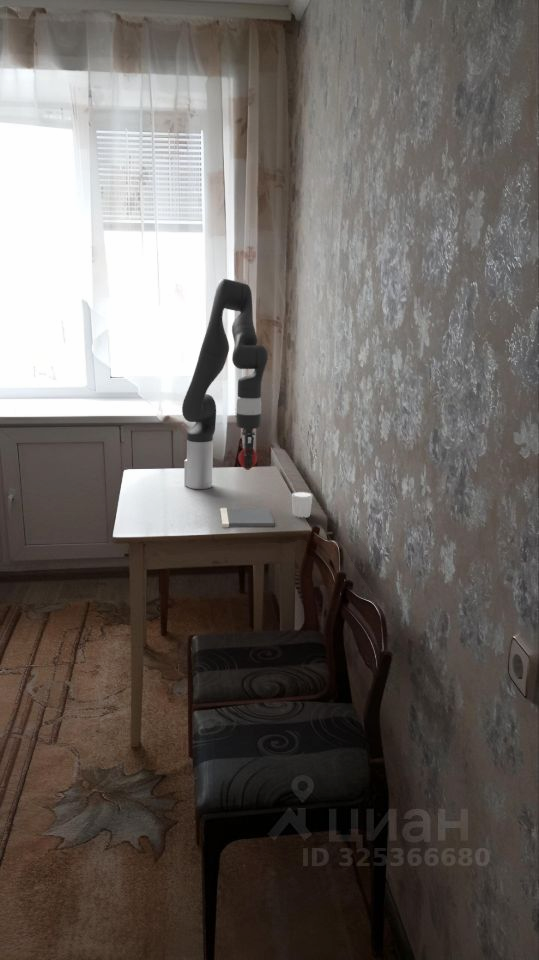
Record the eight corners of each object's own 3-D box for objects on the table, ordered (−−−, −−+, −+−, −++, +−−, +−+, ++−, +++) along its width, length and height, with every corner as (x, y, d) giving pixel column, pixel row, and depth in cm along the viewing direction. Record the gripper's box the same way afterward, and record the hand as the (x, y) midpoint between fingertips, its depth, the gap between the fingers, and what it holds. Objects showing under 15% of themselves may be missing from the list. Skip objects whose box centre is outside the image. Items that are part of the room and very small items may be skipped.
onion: (254, 473, 229) (254, 447, 227) (236, 471, 230) (236, 446, 228) (258, 468, 234) (259, 443, 232) (241, 467, 235) (241, 442, 233)
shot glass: (289, 511, 246) (290, 491, 244) (310, 511, 246) (311, 491, 244) (292, 518, 239) (292, 497, 237) (313, 518, 240) (314, 497, 238)
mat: (222, 527, 228) (222, 523, 228) (220, 511, 244) (220, 507, 243) (274, 527, 230) (274, 523, 230) (269, 511, 245) (269, 507, 245)
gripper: (262, 416, 221) (261, 471, 225) (259, 407, 235) (258, 459, 239) (237, 415, 220) (236, 471, 225) (235, 407, 234) (234, 459, 238)
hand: (247, 465), depth 232 cm, fingers closed on onion, 6 cm apart
